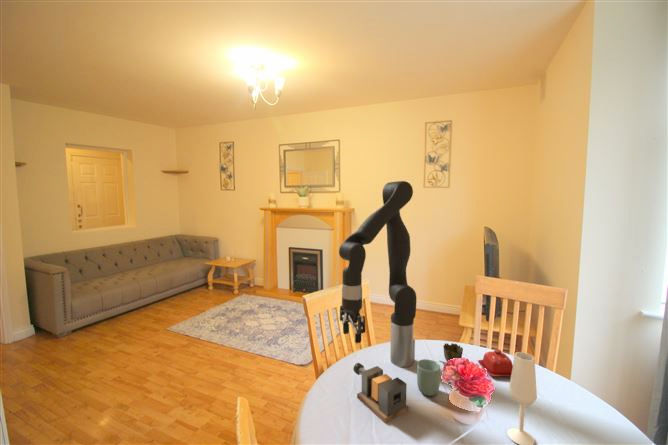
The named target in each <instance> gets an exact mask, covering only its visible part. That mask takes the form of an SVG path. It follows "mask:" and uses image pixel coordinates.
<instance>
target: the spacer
mask: <svg viewBox="0 0 668 445" xmlns="http://www.w3.org/2000/svg"><path fill="white" fill-rule="evenodd" d="M390 380H393V378H392V377H390V376H389V375H388V374H387V373H383V375H381V376H379V377H376V378H373V379H372V395H371V397H373V398H374V399H375V400H376V401H377V402H378V401H379V385H381V384H383V383H386V382H388V381H390Z"/></svg>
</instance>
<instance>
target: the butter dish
mask: <svg viewBox="0 0 668 445" xmlns="http://www.w3.org/2000/svg"><path fill="white" fill-rule="evenodd" d="M477 362H478V364H479V365H480V366H481V367H482V368H483V369H484V368H486V369H487V372H486V373H487V374H488V375H489V376H492V377H511V374H512V368H513V362H512V360H511V358H509V356H508V355H507V354H505V353H504V352H502V350H501V349H499V348H498V349H497V348H496V349H494V350H493V351H487V352H485V353H484V355H483V358H482V359H478V360H477Z"/></svg>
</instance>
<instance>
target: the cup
mask: <svg viewBox="0 0 668 445" xmlns="http://www.w3.org/2000/svg"><path fill="white" fill-rule="evenodd" d="M416 366H417V367H416V381H417V386H418V390H419V392H421V394H423V395H424V396H426V397H427V396H428V397H432V396H436V395H437V394H438V393H439V390H440V386H441V365H440V363H439V362H437V361H435V360H433V359H427V358H425V359H420V360H418V362H417V365H416Z"/></svg>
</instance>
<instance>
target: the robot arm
mask: <svg viewBox="0 0 668 445" xmlns="http://www.w3.org/2000/svg"><path fill="white" fill-rule="evenodd" d="M413 193H414V190H413V186H412V185H411V183H409V182H408V181H405V180H399V181H398V180H397V181H391V182H387V183H386V184H384V185H383V187H382V202H383V205H382V206H381V207H380V208H378V209H376V211H373V213H371V214H369V216H368V217H367V218H365V220H364V221H363V222H362V224H360V226H359V227H358V229H357V230H356V231H355V232H352V234H350V235H349V236H348V237H347V238H346V239H345V240H344V241H343V242H342V243H341V244H340V246H339V249H338V250H339V251H338V254H339V257H340V258H341V259H342V260H346V261H348V267H345V268H343V270H342V286H341V287H342V288H341V305H340V307H339V321H340V322H341V323H342V331H343V332H342V333H343V334H344V335H347V334H349V333H350V324H351V327H352V328H353V330H354V332H355V333H354V342H355V344H360V343H361V342H362V334H364V333H365V334H366V316H364V315H361V314H360V311H362V308H363V285H362V278H363V277H362V275H363V274H362V272H363V269H364V266H365V262H366V256H367V254H366V249H365V247H364V245H369V244H371V243H372V242H373V241H374V240H375V239H376V237H377V236H378V234H379V233H380V232H381V231H382V229H383V228H384V227H386V240H387V241H386V242H387V244H386V245H387V256H388V268H389V269H388V270H389V276H388V277H389V280H388V281H389V282H388V296H389V298H390V300H391V301H392V302H393V303H394V312H392V313H391V315H390V352H389V353H390V357H389V358H390V359H389V360H390V363H391V364H392V365H394V366H396V367H399V368H408V367H411V366H413V363H414V362H415V356H416V355H415V354H416V353H415V351H416V350H415V349H416V348H415V347H416V340H415V338H414V323H415V322H414V321H415V320H414V319H415V318H416V315H417V312H416V311H417V293H416V290H415V289H414V288H413V287H412V286H410V285H408V279H407V266H408V263H409V260H410V258H411V238H410V237H411V236H410V233H409V230H408V229H407V227H406V225H405V223H404V220H403V219H402V216H401V213H400V212H401V209H403V208H404V207H405V206H406V205H407V204H408V203H409V202H410V201H411V200H412V197H413Z"/></svg>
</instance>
